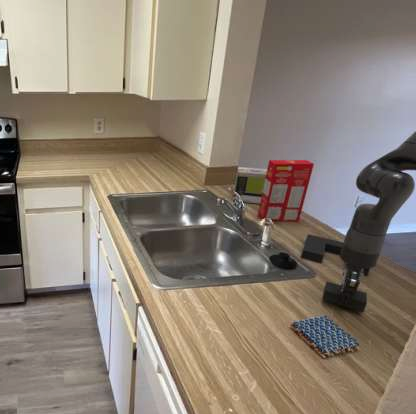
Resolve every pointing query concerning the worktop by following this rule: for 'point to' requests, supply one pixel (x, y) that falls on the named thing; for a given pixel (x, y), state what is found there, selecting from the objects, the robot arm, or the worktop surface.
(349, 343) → the woven mat
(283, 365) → the worktop surface
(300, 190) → the food packaging
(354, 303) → the plug pad
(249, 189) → the tea box
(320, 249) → the socket pad
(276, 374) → the worktop surface
